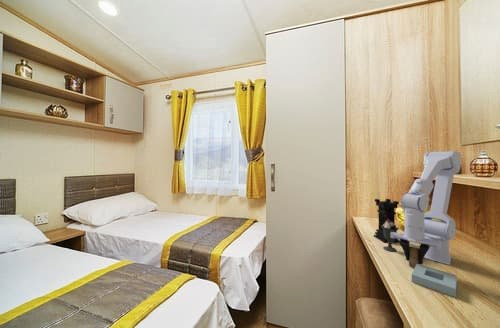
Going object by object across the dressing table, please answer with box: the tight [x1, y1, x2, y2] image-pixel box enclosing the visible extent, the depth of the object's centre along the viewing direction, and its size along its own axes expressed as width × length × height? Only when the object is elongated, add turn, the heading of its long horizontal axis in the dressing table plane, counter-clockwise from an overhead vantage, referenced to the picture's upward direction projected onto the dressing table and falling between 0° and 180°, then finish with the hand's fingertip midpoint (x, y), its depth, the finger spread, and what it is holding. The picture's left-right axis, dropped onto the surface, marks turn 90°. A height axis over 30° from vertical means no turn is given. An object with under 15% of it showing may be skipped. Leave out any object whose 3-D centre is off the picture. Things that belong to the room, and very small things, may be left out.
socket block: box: [411, 264, 458, 298], centre depth 63 cm, size 10×10×2 cm
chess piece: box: [373, 198, 400, 244], centre depth 98 cm, size 8×8×20 cm
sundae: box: [381, 215, 400, 253], centre depth 87 cm, size 7×7×15 cm
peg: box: [408, 245, 420, 269], centre depth 73 cm, size 3×3×7 cm
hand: (414, 261), depth 73 cm, fingers closed on peg, 3 cm apart
